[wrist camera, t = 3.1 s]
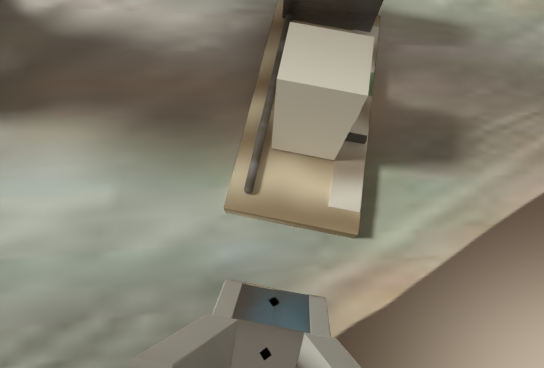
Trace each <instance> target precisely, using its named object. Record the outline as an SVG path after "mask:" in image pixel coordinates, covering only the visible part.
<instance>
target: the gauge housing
mask: <svg viewBox="0 0 544 368" xmlns="http://www.w3.org/2000/svg"><path fill="white" fill-rule="evenodd" d="M373 45H374V37H372V36H367V35H361V34H355V33H350V32H344V31H339V30H333V29H327V28H322V27H316V26H311V25H305V24H300V23H294V22H290V24H289V28H288V33H287V37H286V41H285V45H284V50H283V54H282V58H281V63H280V67H279V71H278V75H277V82H276V95H275V108H274V121H273V134H272V147H271V148H272V149H278V150H283V151H288V152H293V153H298V154H304V155H309V156H314V157H319V158H324V159H329V160H335V158H336V156H337V154H338V152H339V150H340V148H341V147H342V145H343V143H344V141H351V142H356V143H361V144H365V143H366V141H367V135H361V134H356V133H351V132H349V131H350V129H351V127H352V125H354V124H355V123H356V122H357V120H358V118H359V115H360V112H361V109H362V106H363V104H364V103H365V101H366V99H367V97H368V92H369V82H370V73H371V64H372V54H373Z"/></svg>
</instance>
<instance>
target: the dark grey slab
mask: <svg viewBox="0 0 544 368" xmlns="http://www.w3.org/2000/svg"><path fill="white" fill-rule="evenodd" d="M382 2H383V0H283V13H282V18H284V19H285V17H286V14H288V13H290V14H292V15H293V19H292V20H295V21H301V22H306V23H312V24H317V25H323V26H329V27H334V28H340V29H345V30H351V31H353V29H354V30H359V31H365V32H371V29H372V27H373V24H374V22H375V19H376V17H377V14H378V12H379V10H380V7H381V5H382Z"/></svg>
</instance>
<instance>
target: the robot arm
mask: <svg viewBox="0 0 544 368" xmlns="http://www.w3.org/2000/svg"><path fill="white" fill-rule="evenodd" d="M127 368H361V367H360V366H359V365H358V363H357V362H356V361H355V360H354V359H353V358H352V356H351V355H350V354H349V353H348V352H347V351H346V350H345V348H344V347H343V346H342V345H341V344H340V343H339V341H338V340H337V339H336V338H331V334H330V326H329V318H328V310H327V302H326V298H325V297H321V296H314V295H306V294H300V293H294V292H289V291H283V290H278V289H274V288H270V287H265V286H260V285H256V284H251V283H246V282H241V281H236V280H231V279H226V280H225V282H224V284H223V287H222V290H221V292H220V295H219V297H218V300H217V303H216V305H215V308H214V310H213V313H212V314H205V315H204V316H202V317H200V318H199V319H197V320H195V321H194V322H192V323H190V324H189V325H187V326H185V327H184V328H182V329H180V330H179V331H177V332H175V333H174V334H172V335H170V336H169V337H167V338H165V339H164V340H162V341H160V342H159V343H157V344H155V345H154V346H152V347H150V348H149V349H147V350H145V351H144V352H142V353H140V354H139V355H137V356H135V357H134V358H133V359H132V361H131V362H130V364H129V366H128V367H127Z"/></svg>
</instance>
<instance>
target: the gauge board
mask: <svg viewBox="0 0 544 368" xmlns="http://www.w3.org/2000/svg"><path fill="white" fill-rule="evenodd" d="M282 13H283V0H278V1H277V5H276V9H275V12H274V16H273V20H272V24H271V28H270V32H269V36H268V39H267V43H266V47H265V51H264V55H263V59H262V63H261V66H260V70H259V74H258V78H257V82H256V86H255V90H254V93H253V97H252V101H251V105H250V109H249V113H248V117H247V120H246V124H245V128H244V132H243V136H242V140H241V144H240V147H239V151H238V155H237V159H236V163H235V167H234V171H233V174H232V178H231V182H230V186H229V190H228V194H227V198H226V201H225V205H224V210H225V213H230V214H235V215H240V216H245V217H250V218H255V219H260V220H265V221H270V222H275V223H280V224H285V225H290V226H295V227H300V228H305V229H310V230H315V231H320V232H325V233H330V234H335V235H340V236H345V237H350V238H355V237H356V236H357V235H358V232H359V222H360V212H361V202H362V192H363V183H364V173H365V163H366V153H367V143H368V133H369V123H370V114H371V104H372V94H373V84H374V74H375V64H376V54H377V45H378V35H379V25H380V16H379V15H377V17H376V19H375V22H374V24H373V27H372V29H371V32H365V31H359V30H354V29H353V31H351V30H345V29H340V28H334V27H329V26H323V25H317V24H312V23H306V22H301V21H295V20H292V19H293V15H292V14H290V13H288V14H286V17H285V19H284V18H282ZM290 22H294V23H300V24H305V25H311V26H316V27H322V28H327V29H333V30H339V31H344V32H350V33H355V34H361V35H367V36H372V37H374V45H373V54H372V64H371V73H370V82H369V92H368V97H367V99H366V101H365V103H364V104H363V106H362V109H361V112H360V115H359V118H358V120H357V122H356V123H355V124H354V125H352V127H351V129H350V131H349V132H351V133H356V134H361V135H367V141H366V143H365V144H361V143H356V142H351V141H344V143H343V145H342V147H341V148H340V150H339V152H338V154H337V156H336V158H335V160H329V159H324V158H319V157H314V156H309V155H304V154H298V153H293V152H288V151H283V150H278V149H272V148H271V147H272V134H273V121H274V108H275V95H276V82H277V75H278V71H279V67H280V63H281V58H282V54H283V50H284V45H285V41H286V37H287V33H288V28H289V24H290Z"/></svg>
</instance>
